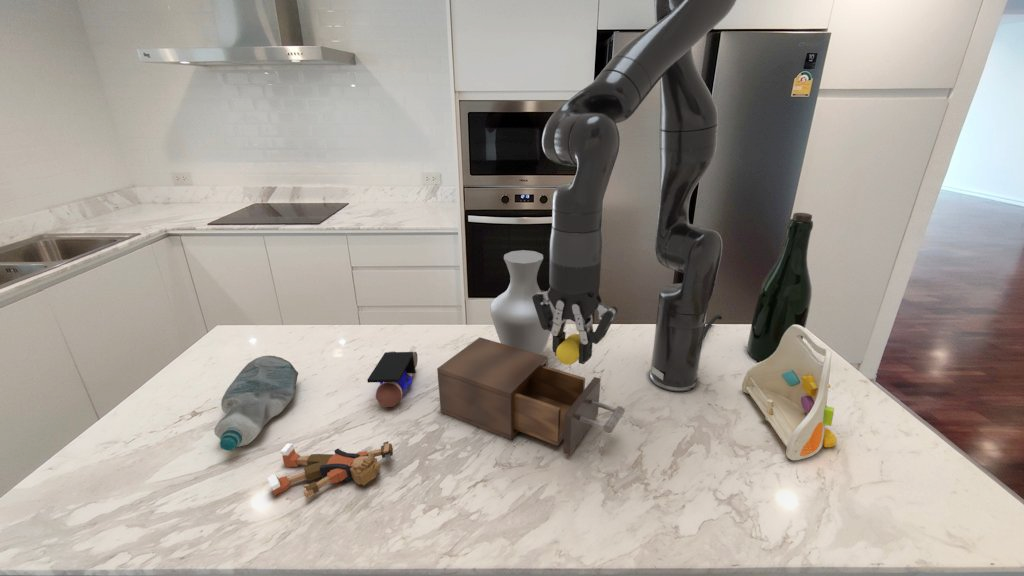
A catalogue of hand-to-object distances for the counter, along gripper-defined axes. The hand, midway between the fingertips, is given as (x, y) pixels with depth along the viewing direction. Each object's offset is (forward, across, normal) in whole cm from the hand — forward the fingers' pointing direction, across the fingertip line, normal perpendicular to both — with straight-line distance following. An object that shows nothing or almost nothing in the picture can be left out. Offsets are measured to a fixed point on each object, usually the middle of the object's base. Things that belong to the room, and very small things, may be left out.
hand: (571, 357), depth 77 cm
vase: (+17, +21, -19) cm, 33 cm away
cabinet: (+17, +17, -2) cm, 24 cm away
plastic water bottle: (+17, +53, +25) cm, 61 cm away
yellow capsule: (0, 0, 0) cm, 0 cm away
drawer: (+16, +2, -2) cm, 16 cm away
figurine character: (+17, +37, +4) cm, 41 cm away
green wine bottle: (+17, -26, -51) cm, 60 cm away
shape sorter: (+17, -32, -26) cm, 45 cm away
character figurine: (+17, +28, +27) cm, 43 cm away
